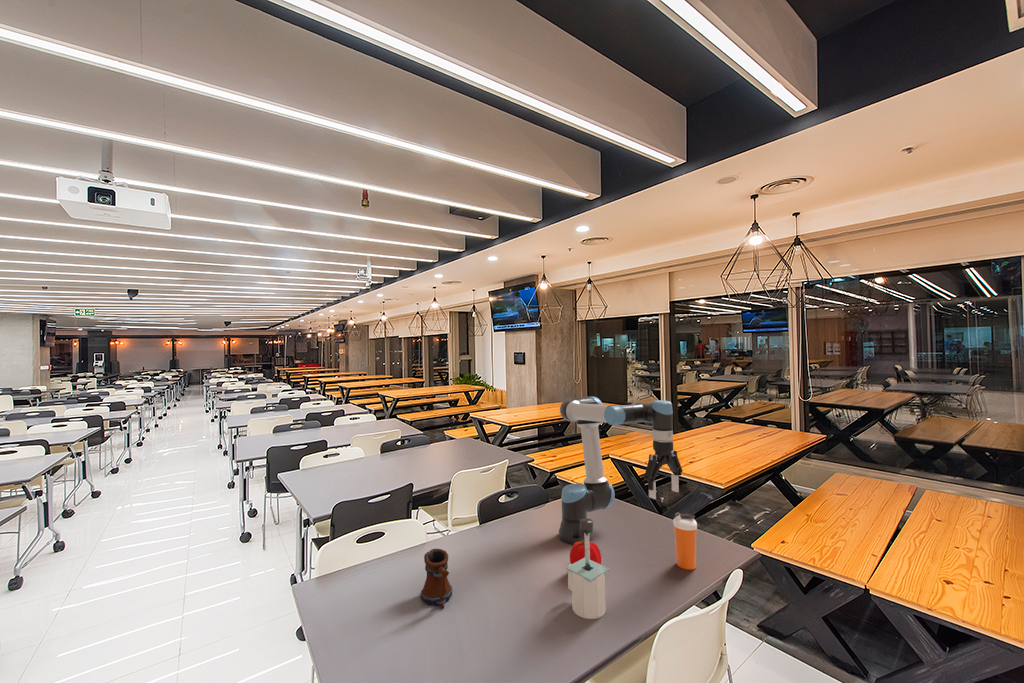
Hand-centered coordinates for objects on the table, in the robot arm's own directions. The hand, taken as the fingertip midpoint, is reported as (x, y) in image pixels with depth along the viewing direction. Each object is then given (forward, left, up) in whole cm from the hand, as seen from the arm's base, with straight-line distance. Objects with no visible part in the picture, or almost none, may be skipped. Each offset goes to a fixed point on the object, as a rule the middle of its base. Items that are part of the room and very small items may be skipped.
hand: (664, 494), depth 158 cm
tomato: (-20, -24, -30) cm, 44 cm away
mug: (-44, -75, -30) cm, 92 cm away
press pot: (-8, -40, -30) cm, 51 cm away
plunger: (-6, -40, -19) cm, 45 cm away
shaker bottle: (+3, +11, -30) cm, 32 cm away
